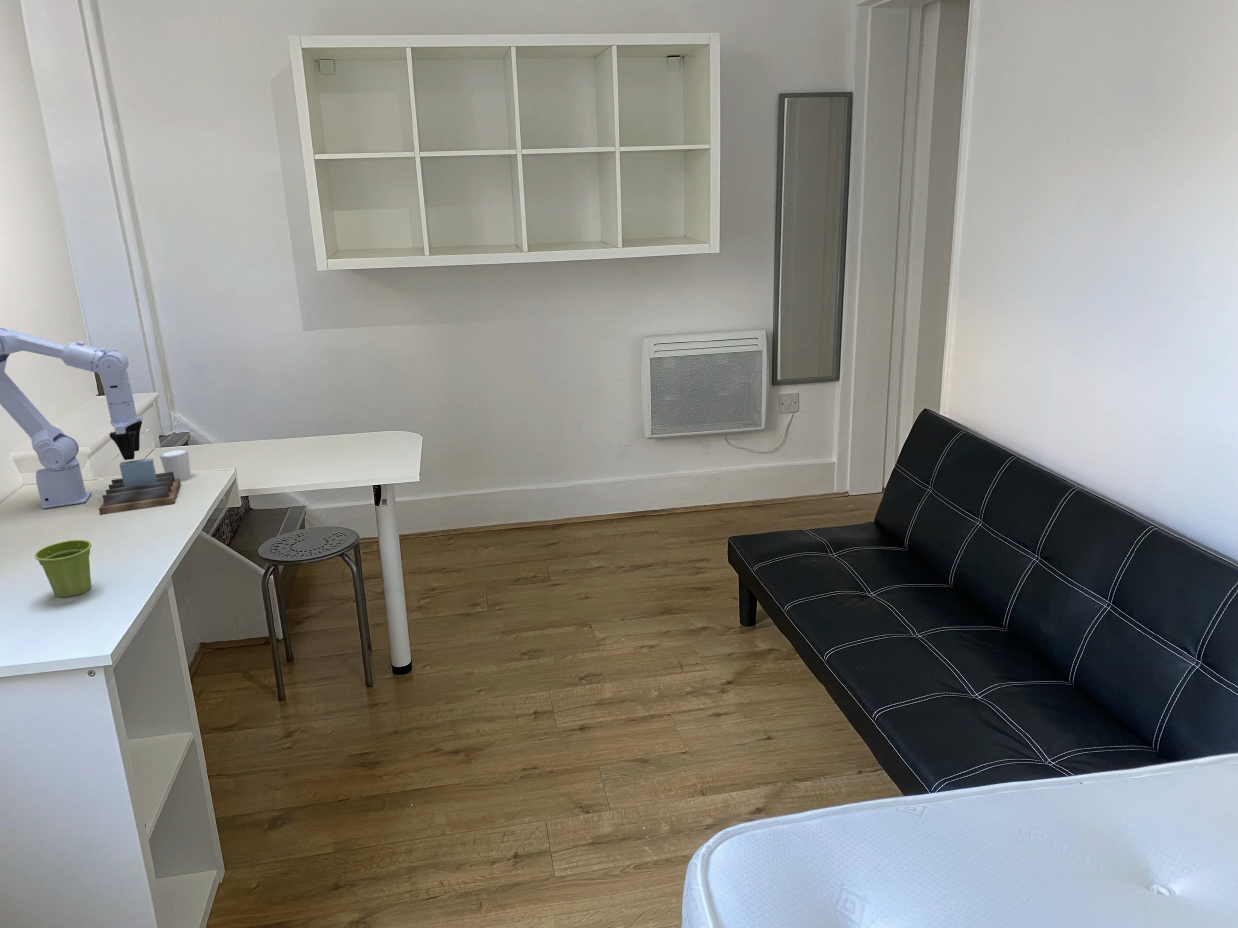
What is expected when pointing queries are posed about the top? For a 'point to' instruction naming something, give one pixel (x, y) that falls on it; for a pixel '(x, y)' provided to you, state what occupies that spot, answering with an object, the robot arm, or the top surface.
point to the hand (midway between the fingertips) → (132, 455)
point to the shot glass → (176, 463)
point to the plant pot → (67, 566)
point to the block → (138, 472)
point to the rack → (140, 494)
